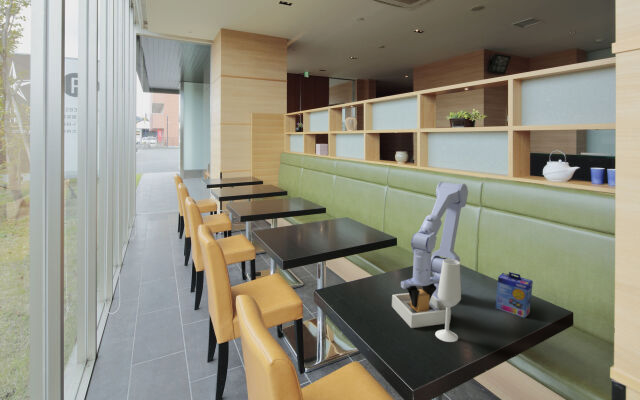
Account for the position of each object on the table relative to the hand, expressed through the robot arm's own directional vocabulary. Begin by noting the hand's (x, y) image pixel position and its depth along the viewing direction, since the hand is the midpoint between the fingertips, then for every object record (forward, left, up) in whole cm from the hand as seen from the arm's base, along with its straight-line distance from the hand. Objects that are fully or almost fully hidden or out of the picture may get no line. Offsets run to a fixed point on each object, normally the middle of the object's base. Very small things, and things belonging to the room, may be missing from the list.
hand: (420, 305), depth 120 cm
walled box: (0, 0, -3) cm, 3 cm away
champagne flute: (-2, +14, -4) cm, 15 cm away
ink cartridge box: (-33, +5, -4) cm, 34 cm away
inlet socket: (0, 0, -3) cm, 3 cm away
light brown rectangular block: (0, 0, -2) cm, 2 cm away
